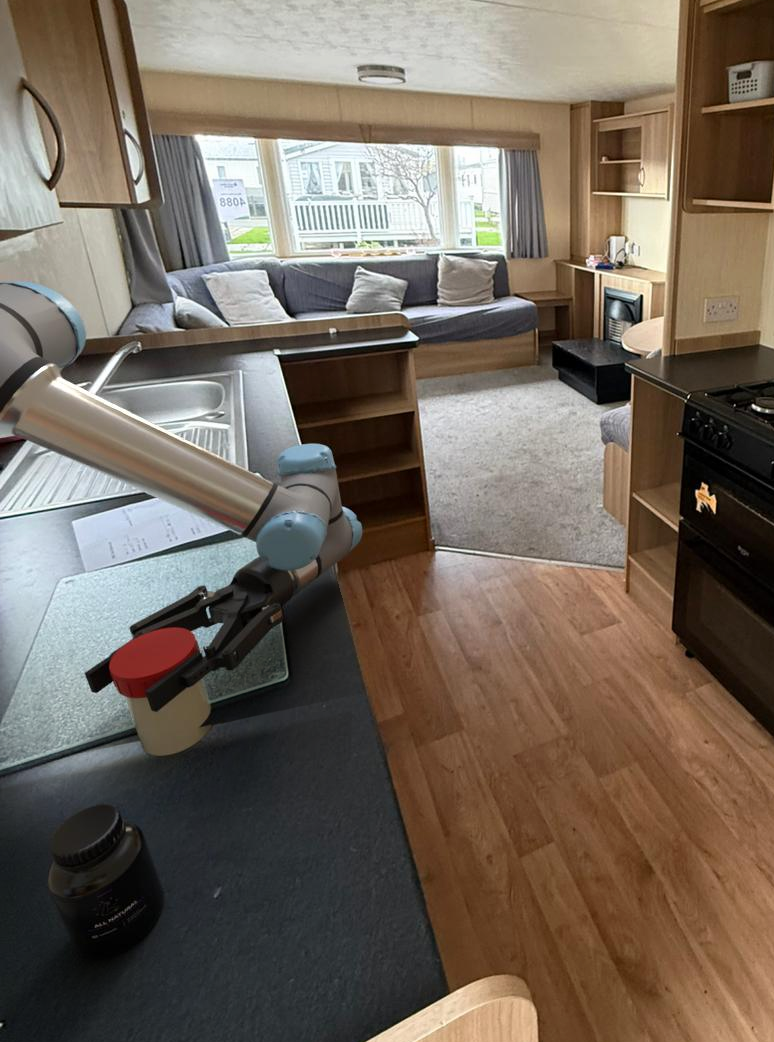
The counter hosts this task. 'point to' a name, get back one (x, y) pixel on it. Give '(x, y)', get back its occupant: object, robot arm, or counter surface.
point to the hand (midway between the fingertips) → (120, 692)
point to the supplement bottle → (103, 881)
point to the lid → (150, 659)
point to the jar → (172, 721)
